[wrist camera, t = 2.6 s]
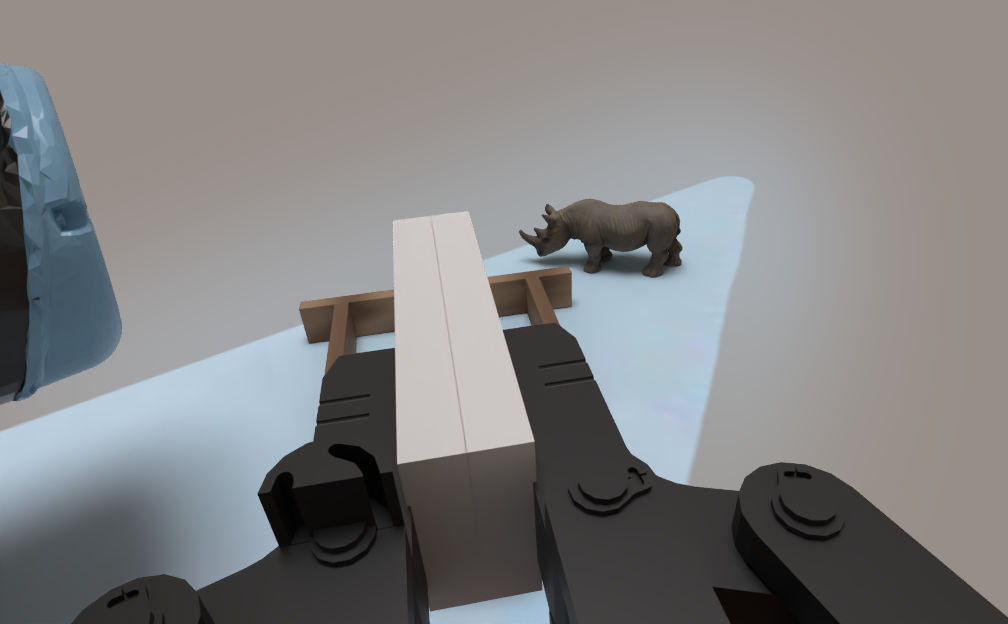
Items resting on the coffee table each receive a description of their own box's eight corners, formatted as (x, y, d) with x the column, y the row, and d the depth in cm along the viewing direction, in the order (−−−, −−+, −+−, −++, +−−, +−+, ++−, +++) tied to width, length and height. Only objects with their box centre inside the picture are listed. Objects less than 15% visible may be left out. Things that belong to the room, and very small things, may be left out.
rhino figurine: (525, 250, 56) (522, 188, 53) (680, 257, 53) (687, 192, 50) (516, 272, 52) (513, 207, 49) (682, 281, 50) (689, 213, 46)
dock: (285, 468, 35) (271, 429, 33) (310, 335, 46) (300, 302, 44) (623, 413, 37) (626, 374, 35) (568, 299, 48) (568, 266, 46)
